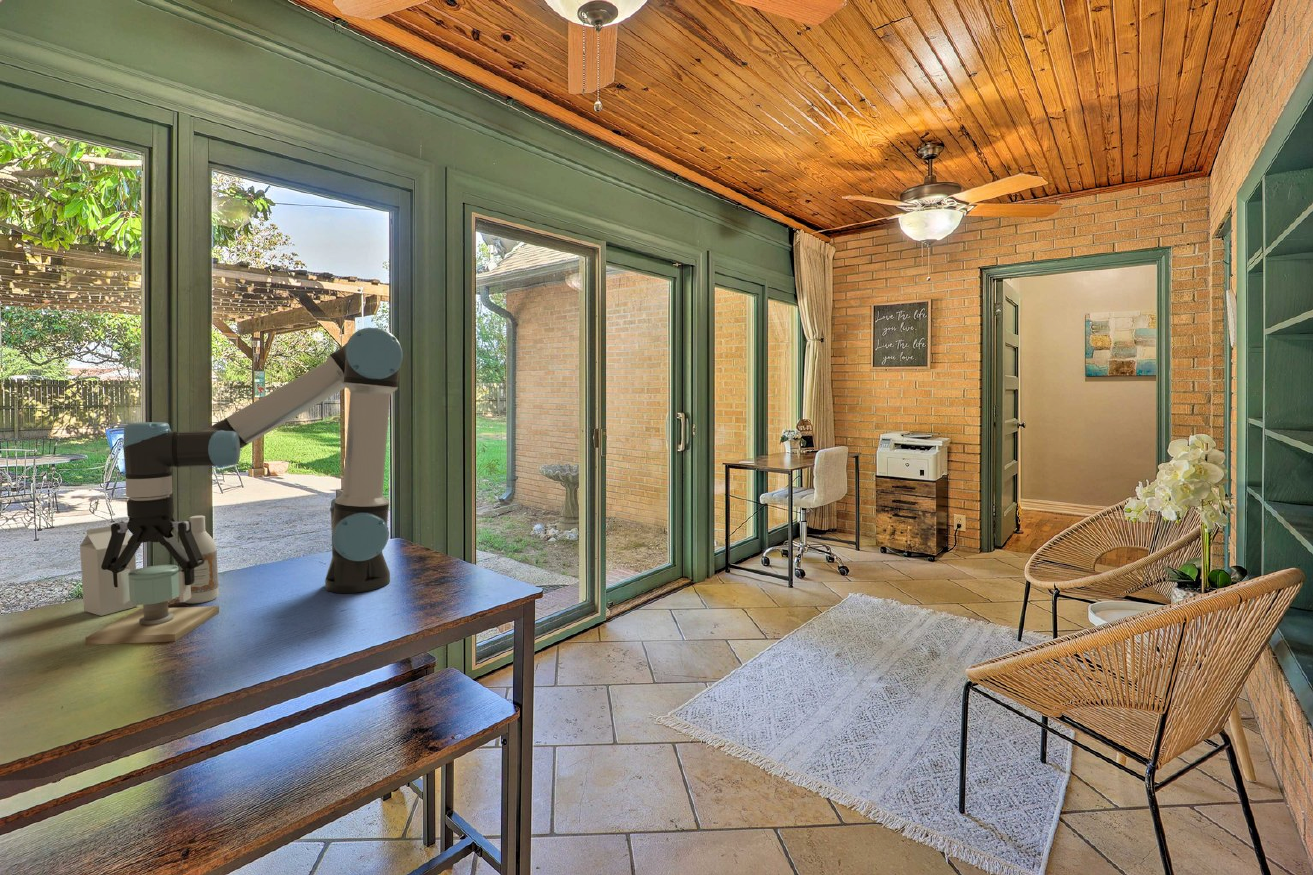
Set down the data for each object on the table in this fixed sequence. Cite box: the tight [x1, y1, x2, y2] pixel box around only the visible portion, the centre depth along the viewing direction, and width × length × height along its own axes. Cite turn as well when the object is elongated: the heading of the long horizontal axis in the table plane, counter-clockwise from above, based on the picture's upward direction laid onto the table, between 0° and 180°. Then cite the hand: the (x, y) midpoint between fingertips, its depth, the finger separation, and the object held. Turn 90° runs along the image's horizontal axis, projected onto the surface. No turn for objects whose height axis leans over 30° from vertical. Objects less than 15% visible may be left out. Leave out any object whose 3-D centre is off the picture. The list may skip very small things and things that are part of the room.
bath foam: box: [180, 515, 220, 605], centre depth 149 cm, size 7×7×20 cm
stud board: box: [84, 601, 220, 646], centre depth 132 cm, size 16×16×12 cm
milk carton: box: [79, 525, 139, 617], centre depth 142 cm, size 7×7×19 cm
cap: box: [128, 564, 180, 606], centre depth 131 cm, size 8×8×6 cm
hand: (155, 600), depth 132 cm, fingers open, 11 cm apart
